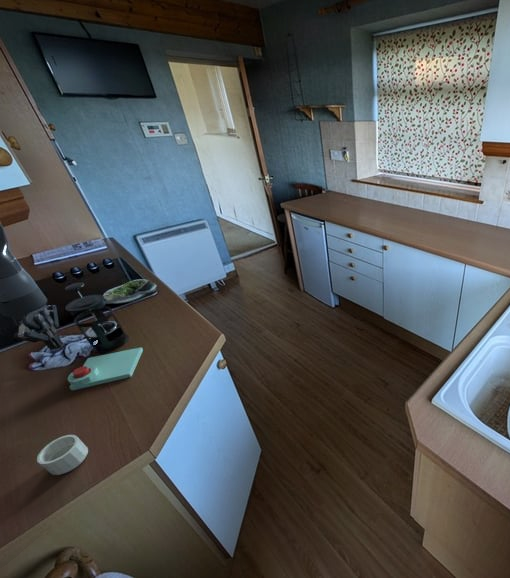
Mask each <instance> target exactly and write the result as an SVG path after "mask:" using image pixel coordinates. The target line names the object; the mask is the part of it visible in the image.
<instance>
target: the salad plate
mask: <svg viewBox="0 0 510 578" xmlns="http://www.w3.org/2000/svg"><path fill="white" fill-rule="evenodd" d="M157 287H158V286H157V284H156V283H155V282H152V281H151V280H150V279H145V278H140V279H133V280H131V281H127V282H126V283H124V284H122V285H118V286H115V287H113V288H111V289H108V290H107V291H105V292H103V294H102V296H104V301H105V305H107V304H127V303H133V302H134V301H136V300H139V299H142V298H145V297H147V296H149V295H152V294H153V293H155V292H156V291H157Z"/></svg>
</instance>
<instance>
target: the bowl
mask: <svg viewBox="0 0 510 578" xmlns="http://www.w3.org/2000/svg"><path fill="white" fill-rule="evenodd" d="M88 453H89V448H88V446H86V444H85V443H84V442H83V441H82V440H81V439H80V438H79V437H78V436H77V435H75V434H67V435H62V436H60V437H58V438H56V439H54V440H52V441H51V442H49V443H48V444H46V445H45V446H44V447H43V448H42V449H41V450H40V451H39V453H38V455H37V457H36V462H37V463H38V464H39V465H40V466H42V468H44V469H45V470H46V471H47V472H48V473H50V475H52V476H60V475H63V474H67V473H69V472H71V471H73V470H74V469H76V468H77V467H79V466H80V465H81V464H82V463H83V462H84V460H85V459H86V458H87V456H88Z"/></svg>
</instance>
